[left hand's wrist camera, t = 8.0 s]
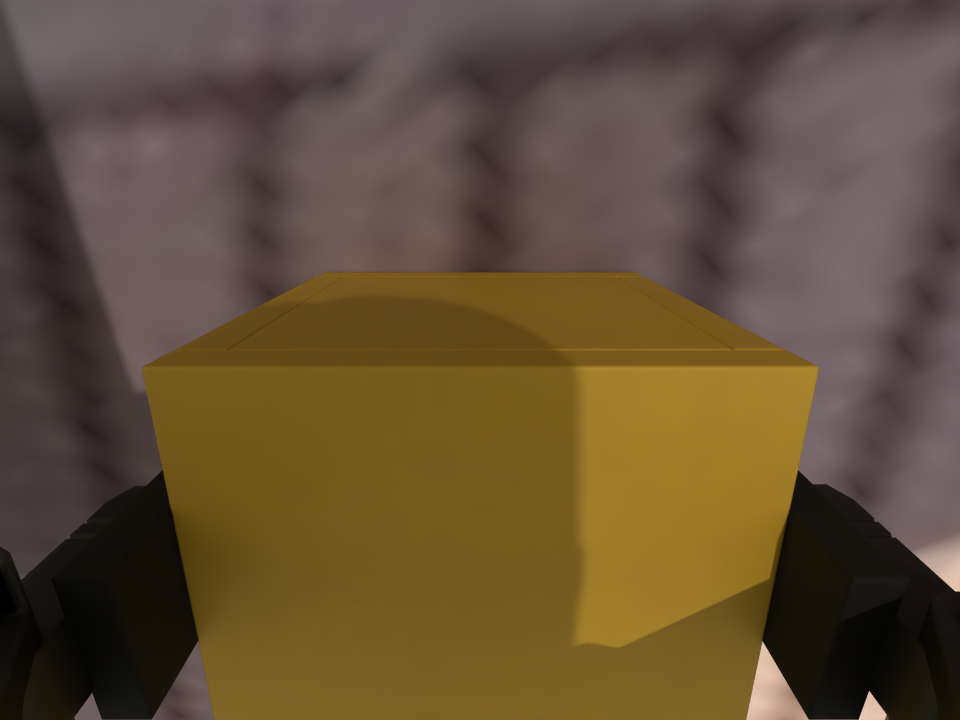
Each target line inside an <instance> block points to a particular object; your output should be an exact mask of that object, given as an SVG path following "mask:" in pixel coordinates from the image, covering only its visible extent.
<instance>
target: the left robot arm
mask: <svg viewBox="0 0 960 720" xmlns="http://www.w3.org/2000/svg"><path fill="white" fill-rule="evenodd" d="M197 642H198V637H197V633H196V628H195V623H194V618H193V613H192V608H191V604H190V599H189V594H188V589H187V584H186V580H185V575H184V570H183V565H182V560H181V555H180V551H179V546H178V541H177V536H176V531H175V526H174V522H173V517H172V512H171V507H170V502H169V498H168V493H167V488H166V483H165V478H164V473H163V470H162V471H161V472H160V473H159V474H158V475H157V476H156V477H155V478H154V479H153V480H152V481H151V482H150V483H149V484H148V485H147V486H134V487H132V488H131V489H129V490H127V491H125V492H124V493H122V494H120V495H118V496H116V497H115V498H113V499H111V500H109V501H108V502H106V503H105V504H104V505H103V506H102V507H101V508H100V509H99V510H98V511H97V512H95V513H94V514H93V515H92V516H91V517H90V518H89V519H88V520H87V523H86V524H82V525H81V526H80V527H79V528H78V529H77V530H76V531H75V532H73V533H72V534H71V535H70V539H66V540H65V541H64V542H63V543H61V544H60V545H59V546H58V547H57V548H56V549H55V550H54V551H53V552H52V553H50V554H49V555H48V556H47V557H46V558H45V559H44V560H43V561H42V562H41V563H39V564H38V565H37V566H36V567H35V568H34V569H33V570H32V571H31V572H30V573H28V574H27V575H26V576H25V577H24V578H23V579H22V580H20V577H19V575H18V572H17V569H16V567H15V564H14V562H13V559H12V557H11V554H10V552H8V551H6V550H4V549H3V548H1V547H0V720H75V718H74V717H75V715H76V714H77V713H78V711H79V710H80V708H81V707H82V706H83V704H84V703H85V702H86V700H87V699H88V698H89V696H90V695H91V693H93V696H94V698H95V701H96V704H97V707H98V710H99V712H100V715H101V718H102V720H147V719H152V718H153V717H154V715H155V713H156V711H157V710H158V708H159V706H160V705H161V703H162V701H163V700H164V698H165V696H166V694H167V693H168V691H169V689H170V688H171V686H172V684H173V683H174V681H175V679H176V678H177V676H178V674H179V672H180V671H181V669H182V667H183V666H184V664H185V662H186V661H187V659H188V657H189V655H190V654H191V652H192V650H193V649H194V647H195V645H196V644H197ZM763 643H764V644H765V646H766V648H767V649H768V651H769V653H770V654H771V656H772V658H773V660H774V661H775V663H776V665H777V666H778V668H779V670H780V671H781V673H782V675H783V677H784V678H785V680H786V682H787V683H788V685H789V687H790V688H791V690H792V692H793V693H794V695H795V697H796V699H797V700H798V702H799V704H800V705H801V707H802V709H803V710H804V712H805V714H806V716H807V717H808V719H809V720H859V717H860V714H861V712H862V709H863V706H864V703H865V701H866V698H867V695H868V692H869V691H870V692H871V694H872V695H873V696H874V698H875V699H876V701H877V702H878V703H879V705H880V706H881V707H882V709H883V710H884V711H885V713H886V714H887V716H886V718H885V720H960V592H955V591H954V590H953V589H952V588H951V587H950V586H949V585H947V584H946V583H945V582H944V581H943V580H942V579H941V578H940V577H939V576H938V575H936V574H935V573H934V572H933V571H932V570H931V569H930V568H929V567H928V566H926V565H925V564H924V563H923V562H922V561H921V560H920V559H919V558H918V557H916V556H915V555H914V554H913V553H912V552H911V551H910V550H909V549H908V548H907V547H905V546H904V545H903V544H902V543H901V542H900V541H899V540H898V539H897V538H892V537H891V533H890V532H889V531H888V530H887V529H885V528H884V527H883V526H882V525H881V524H880V523H879V522H875V521H874V518H873V517H872V516H871V515H870V514H869V513H868V512H867V511H866V510H864V509H863V508H862V507H861V506H860V505H859V504H858V503H857V502H856V501H854V500H853V499H851V498H850V497H848V496H846V495H844V494H842V493H841V492H839V491H837V490H835V489H834V488H832V487H830V486H828V485H826V484H812V483H811V482H810V481H809V480H808V479H807V478H806V477H805V476H804V475H803V474H801V473H800V472H799V471H798V472H797V477H796V481H795V486H794V491H793V496H792V501H791V505H790V510H789V515H788V520H787V525H786V530H785V534H784V539H783V544H782V549H781V554H780V559H779V563H778V568H777V573H776V578H775V583H774V587H773V592H772V597H771V602H770V607H769V612H768V616H767V621H766V626H765V631H764V636H763Z"/></svg>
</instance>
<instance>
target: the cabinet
mask: <svg viewBox="0 0 960 720" xmlns="http://www.w3.org/2000/svg"><path fill="white" fill-rule="evenodd" d="M142 372H143V377H144V382H145V387H146V391H147V396H148V401H149V406H150V411H151V416H152V420H153V425H154V430H155V435H156V440H157V445H158V449H159V454H160V459H161V464H162V469H163V473H164V478H165V483H166V488H167V493H168V498H169V502H170V507H171V512H172V517H173V522H174V526H175V531H176V536H177V541H178V546H179V551H180V555H181V560H182V565H183V570H184V575H185V580H186V584H187V589H188V594H189V599H190V604H191V608H192V613H193V618H194V623H195V628H196V633H197V637H198V642H199V647H200V652H201V657H202V661H203V666H204V671H205V676H206V681H207V686H208V690H209V695H210V700H211V705H212V710H213V715H214V719H215V720H746V718H747V713H748V708H749V703H750V698H751V694H752V689H753V684H754V679H755V674H756V669H757V665H758V660H759V655H760V650H761V645H762V641H763V636H764V631H765V626H766V621H767V616H768V612H769V607H770V602H771V597H772V592H773V587H774V583H775V578H776V573H777V568H778V563H779V559H780V554H781V549H782V544H783V539H784V534H785V530H786V525H787V520H788V515H789V510H790V505H791V501H792V496H793V491H794V486H795V481H796V477H797V472H798V467H799V462H800V457H801V452H802V448H803V443H804V438H805V433H806V428H807V423H808V419H809V414H810V409H811V404H812V399H813V395H814V390H815V385H816V380H817V375H818V367H817V366H816V365H814V364H812V363H810V362H808V361H806V360H804V359H802V358H800V357H799V356H797V355H795V354H793V353H791V352H789V351H787V350H784V349H782V348H780V347H778V346H776V345H775V344H773V343H771V342H769V341H767V340H765V339H763V338H761V337H759V336H757V335H755V334H753V333H751V332H749V331H748V330H746V329H744V328H742V327H740V326H738V325H736V324H734V323H732V322H730V321H728V320H726V319H724V318H722V317H721V316H719V315H717V314H715V313H713V312H711V311H709V310H707V309H705V308H703V307H701V306H699V305H697V304H695V303H694V302H692V301H690V300H688V299H686V298H684V297H682V296H680V295H678V294H676V293H674V292H672V291H670V290H668V289H667V288H665V287H663V286H661V285H659V284H657V283H655V282H653V281H651V280H649V279H647V278H645V277H643V276H642V275H640V274H638V273H636V272H325V273H323V274H321V275H319V276H317V277H315V278H313V279H311V280H309V281H307V282H305V283H303V284H301V285H299V286H297V287H295V288H293V289H292V290H290V291H288V292H286V293H284V294H282V295H280V296H278V297H276V298H274V299H272V300H270V301H268V302H266V303H265V304H263V305H261V306H259V307H257V308H255V309H253V310H251V311H249V312H247V313H245V314H243V315H241V316H240V317H238V318H236V319H234V320H232V321H230V322H228V323H226V324H224V325H222V326H220V327H218V328H216V329H214V330H213V331H211V332H209V333H207V334H205V335H203V336H201V337H199V338H197V339H195V340H193V341H191V342H189V343H188V344H186V345H184V346H182V347H180V348H178V349H176V350H174V351H172V352H170V353H168V354H166V355H164V356H162V357H161V358H159V359H157V360H155V361H153V362H151V363H149V364H147V365H145V366H143V368H142Z"/></svg>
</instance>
